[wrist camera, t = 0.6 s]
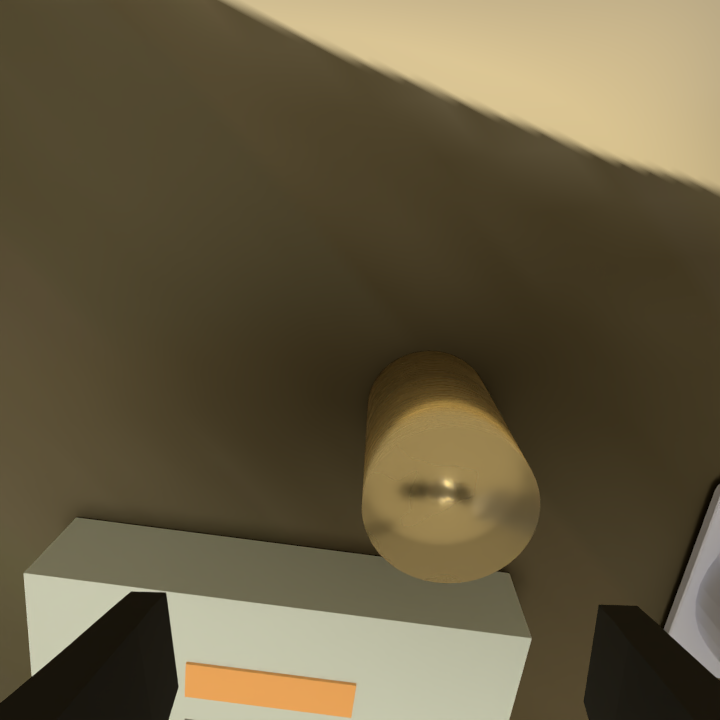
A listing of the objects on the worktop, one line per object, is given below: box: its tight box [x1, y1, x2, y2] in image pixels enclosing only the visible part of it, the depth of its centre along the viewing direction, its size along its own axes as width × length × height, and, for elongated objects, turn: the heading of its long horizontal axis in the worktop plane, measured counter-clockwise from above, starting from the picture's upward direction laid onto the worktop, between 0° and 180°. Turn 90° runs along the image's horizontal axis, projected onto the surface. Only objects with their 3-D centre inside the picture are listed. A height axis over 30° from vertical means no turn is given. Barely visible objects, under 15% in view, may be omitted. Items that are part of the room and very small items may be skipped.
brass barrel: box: [362, 351, 540, 583], centre depth 15 cm, size 4×4×6 cm
